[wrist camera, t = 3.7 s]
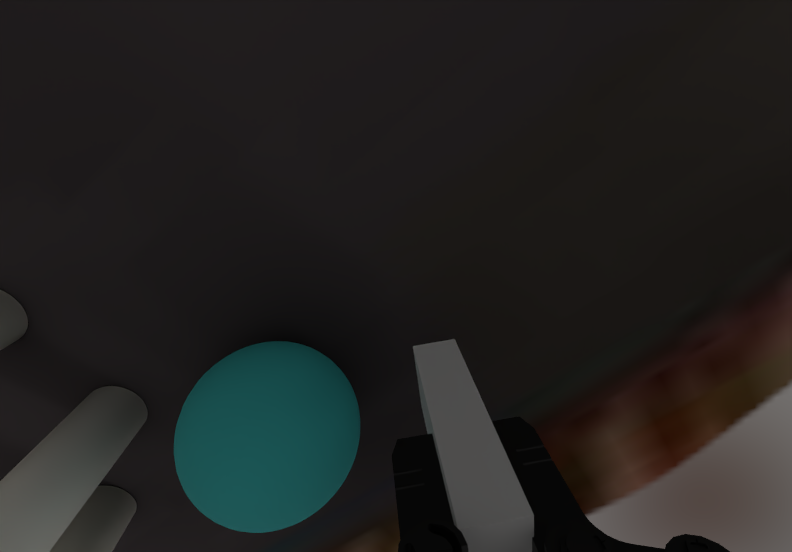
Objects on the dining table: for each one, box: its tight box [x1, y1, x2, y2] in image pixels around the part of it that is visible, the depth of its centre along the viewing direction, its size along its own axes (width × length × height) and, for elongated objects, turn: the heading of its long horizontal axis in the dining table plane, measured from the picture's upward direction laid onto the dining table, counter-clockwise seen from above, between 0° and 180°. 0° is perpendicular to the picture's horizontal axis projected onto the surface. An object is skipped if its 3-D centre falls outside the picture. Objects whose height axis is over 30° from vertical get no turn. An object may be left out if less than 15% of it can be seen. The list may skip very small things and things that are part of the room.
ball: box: [174, 341, 360, 533], centre depth 13 cm, size 6×6×6 cm
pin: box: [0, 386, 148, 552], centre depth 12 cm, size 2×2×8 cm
